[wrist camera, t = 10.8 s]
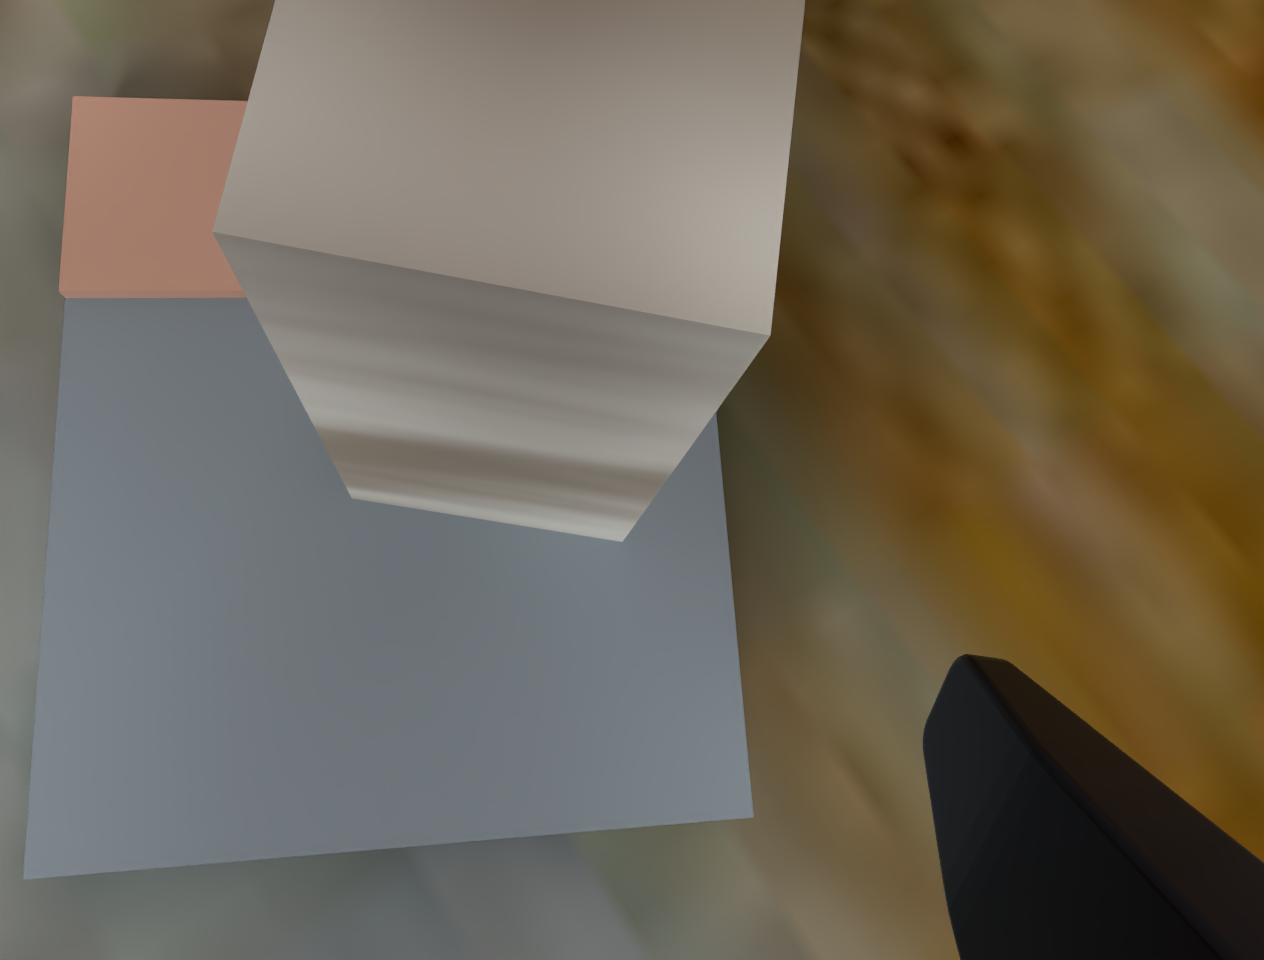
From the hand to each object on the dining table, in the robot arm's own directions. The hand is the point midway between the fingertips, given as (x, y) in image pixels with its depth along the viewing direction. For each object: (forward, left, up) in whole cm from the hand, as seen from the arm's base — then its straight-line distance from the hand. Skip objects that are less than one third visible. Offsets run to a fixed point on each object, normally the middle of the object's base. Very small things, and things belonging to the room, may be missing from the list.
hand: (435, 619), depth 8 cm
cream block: (+5, -1, -10) cm, 11 cm away
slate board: (+4, +1, -11) cm, 12 cm away
